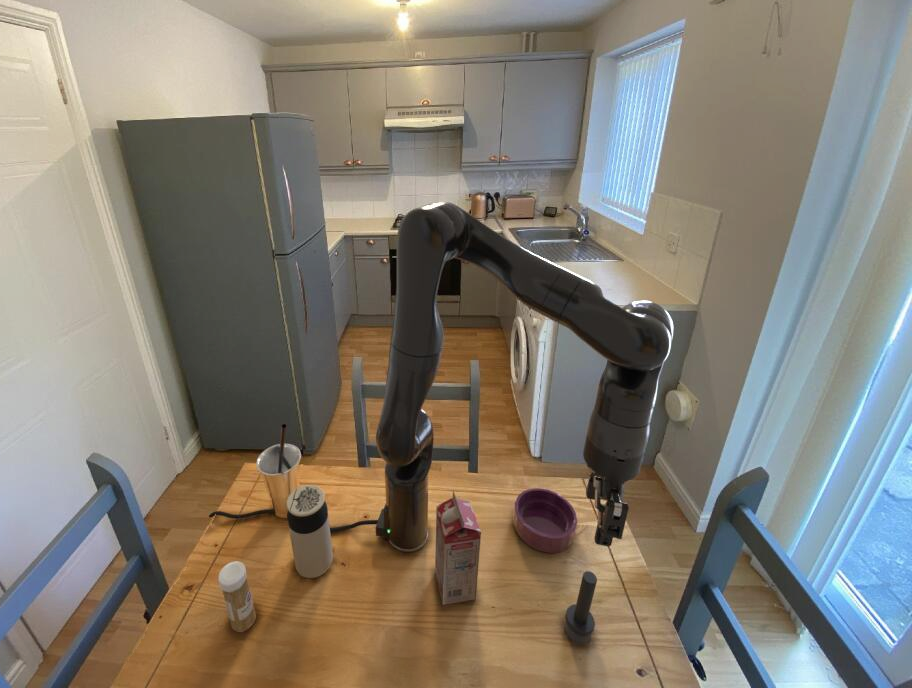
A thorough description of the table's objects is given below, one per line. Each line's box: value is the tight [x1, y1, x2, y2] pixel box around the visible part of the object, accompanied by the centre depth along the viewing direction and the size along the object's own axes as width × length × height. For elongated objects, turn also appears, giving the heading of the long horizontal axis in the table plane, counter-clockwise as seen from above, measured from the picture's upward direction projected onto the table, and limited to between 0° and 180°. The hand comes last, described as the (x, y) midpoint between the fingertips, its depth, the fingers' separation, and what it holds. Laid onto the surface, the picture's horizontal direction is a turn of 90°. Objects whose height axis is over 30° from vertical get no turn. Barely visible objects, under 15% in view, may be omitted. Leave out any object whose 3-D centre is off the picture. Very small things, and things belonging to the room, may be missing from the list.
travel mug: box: [286, 484, 334, 579], centre depth 87 cm, size 8×8×18 cm
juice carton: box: [434, 490, 482, 606], centre depth 81 cm, size 7×7×22 cm
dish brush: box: [564, 570, 598, 645], centre depth 74 cm, size 5×5×15 cm
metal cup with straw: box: [256, 423, 302, 519], centre depth 97 cm, size 11×11×30 cm
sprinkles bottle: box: [217, 560, 257, 633], centre depth 77 cm, size 5×5×14 cm
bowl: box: [512, 487, 578, 554], centre depth 96 cm, size 13×13×5 cm
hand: (597, 519), depth 66 cm, fingers open, 8 cm apart
